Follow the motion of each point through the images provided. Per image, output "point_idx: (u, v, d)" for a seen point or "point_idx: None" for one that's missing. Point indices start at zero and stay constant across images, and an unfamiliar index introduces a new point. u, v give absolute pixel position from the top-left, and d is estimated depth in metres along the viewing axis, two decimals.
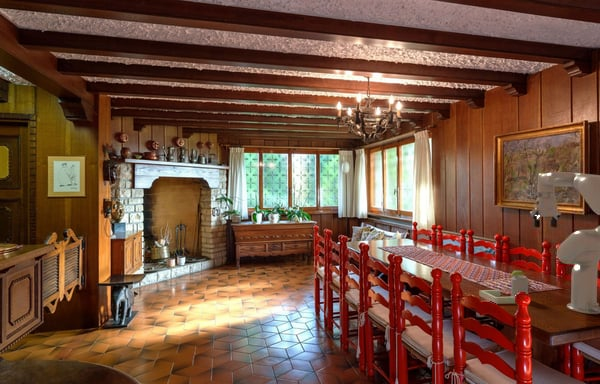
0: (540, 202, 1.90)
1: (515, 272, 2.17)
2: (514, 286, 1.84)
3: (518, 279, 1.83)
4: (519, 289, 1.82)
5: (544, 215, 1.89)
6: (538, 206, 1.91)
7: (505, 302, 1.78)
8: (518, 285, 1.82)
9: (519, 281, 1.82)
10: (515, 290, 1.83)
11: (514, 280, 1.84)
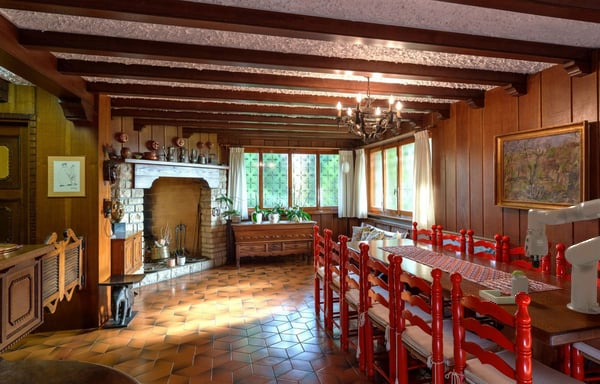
0: (530, 240, 1.83)
1: (515, 272, 2.17)
2: (514, 286, 1.84)
3: (518, 279, 1.83)
4: (519, 289, 1.82)
5: (534, 253, 1.83)
6: (528, 244, 1.84)
7: (505, 302, 1.78)
8: (518, 285, 1.82)
9: (519, 281, 1.82)
10: (515, 290, 1.83)
11: (514, 280, 1.84)
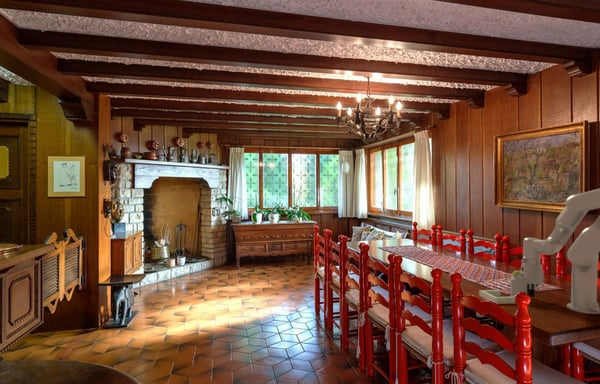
0: (525, 269, 1.83)
1: (516, 272, 2.17)
2: (513, 286, 1.84)
3: (517, 279, 1.83)
4: (518, 289, 1.82)
5: (529, 282, 1.83)
6: (523, 273, 1.84)
7: (505, 302, 1.78)
8: (516, 285, 1.82)
9: (518, 281, 1.82)
10: (514, 290, 1.83)
11: (513, 280, 1.84)
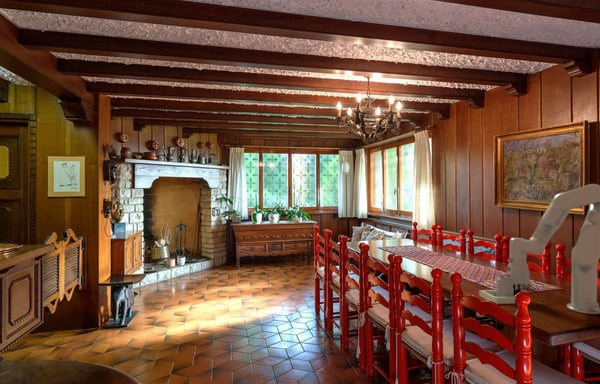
0: (511, 269, 1.83)
1: None
2: (499, 286, 1.83)
3: (503, 279, 1.82)
4: (504, 289, 1.81)
5: (515, 283, 1.82)
6: (509, 273, 1.84)
7: (505, 302, 1.78)
8: (502, 286, 1.82)
9: (504, 281, 1.81)
10: (500, 291, 1.83)
11: (499, 280, 1.83)
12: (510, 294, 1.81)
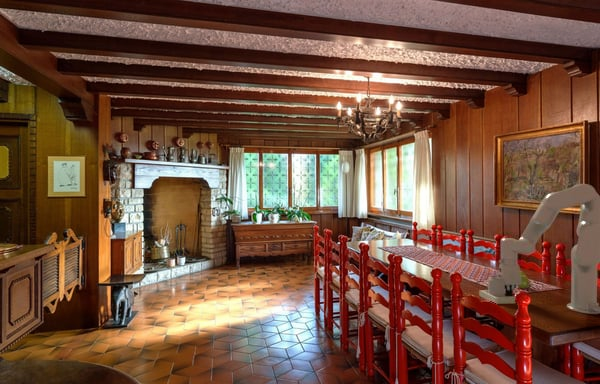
0: (502, 270, 1.82)
1: None
2: (491, 286, 1.83)
3: (494, 279, 1.81)
4: (495, 290, 1.81)
5: (507, 283, 1.82)
6: (500, 273, 1.83)
7: (505, 302, 1.78)
8: (494, 286, 1.81)
9: (495, 281, 1.81)
10: (491, 291, 1.82)
11: (490, 281, 1.83)
12: (502, 294, 1.80)
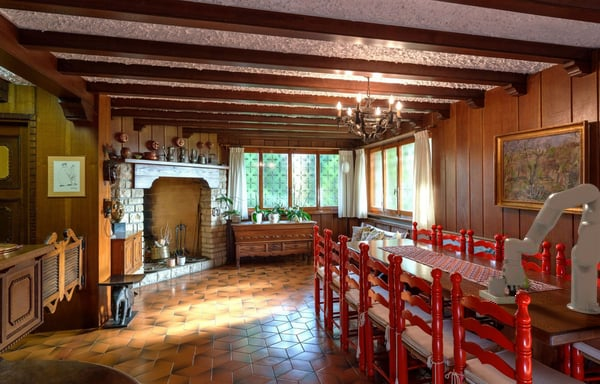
0: (506, 270, 1.82)
1: None
2: (491, 286, 1.83)
3: (494, 279, 1.81)
4: (495, 290, 1.81)
5: (511, 284, 1.82)
6: (504, 274, 1.83)
7: (505, 302, 1.78)
8: (494, 286, 1.81)
9: (495, 281, 1.81)
10: (491, 291, 1.82)
11: (490, 281, 1.83)
12: (502, 294, 1.80)
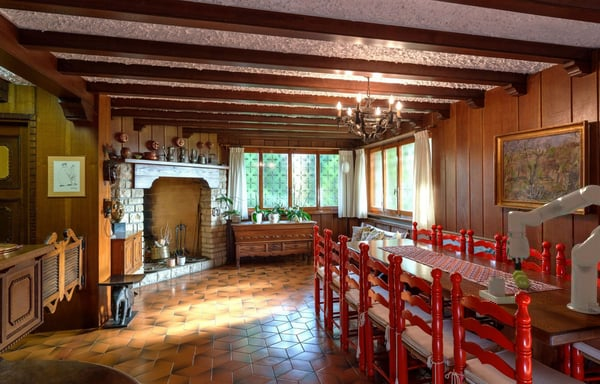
0: (511, 242, 1.82)
1: (516, 272, 2.16)
2: (491, 287, 1.83)
3: (494, 279, 1.81)
4: (495, 290, 1.81)
5: (515, 256, 1.81)
6: (509, 246, 1.83)
7: (505, 302, 1.78)
8: (494, 286, 1.81)
9: (495, 282, 1.81)
10: (491, 291, 1.82)
11: (490, 281, 1.83)
12: (502, 294, 1.80)
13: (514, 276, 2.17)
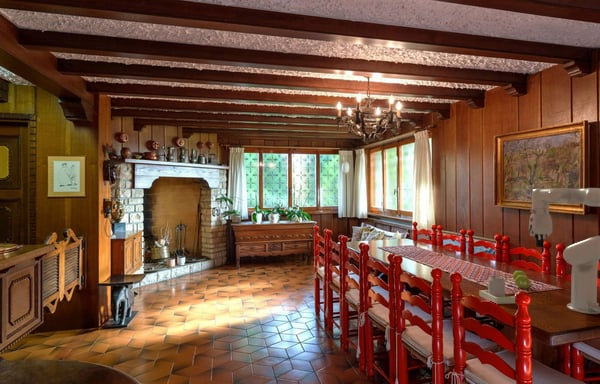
0: (534, 219, 1.83)
1: (517, 272, 2.16)
2: (491, 286, 1.83)
3: (494, 279, 1.81)
4: (495, 290, 1.81)
5: (538, 232, 1.83)
6: (532, 223, 1.84)
7: (505, 302, 1.78)
8: (494, 286, 1.81)
9: (495, 281, 1.81)
10: (491, 291, 1.82)
11: (490, 281, 1.83)
12: (502, 294, 1.80)
13: (514, 276, 2.17)
